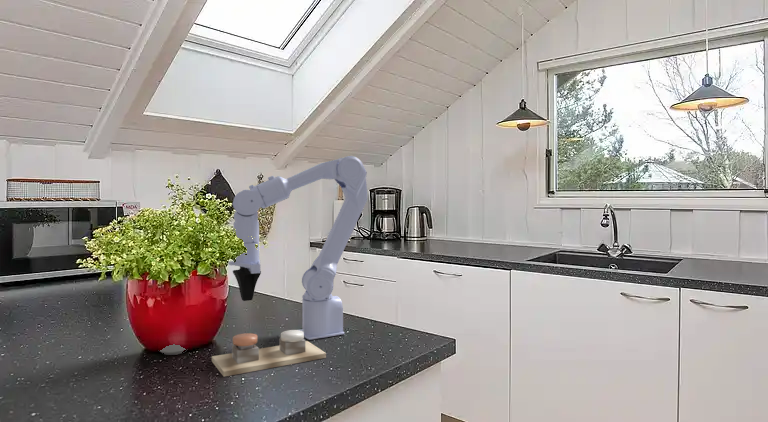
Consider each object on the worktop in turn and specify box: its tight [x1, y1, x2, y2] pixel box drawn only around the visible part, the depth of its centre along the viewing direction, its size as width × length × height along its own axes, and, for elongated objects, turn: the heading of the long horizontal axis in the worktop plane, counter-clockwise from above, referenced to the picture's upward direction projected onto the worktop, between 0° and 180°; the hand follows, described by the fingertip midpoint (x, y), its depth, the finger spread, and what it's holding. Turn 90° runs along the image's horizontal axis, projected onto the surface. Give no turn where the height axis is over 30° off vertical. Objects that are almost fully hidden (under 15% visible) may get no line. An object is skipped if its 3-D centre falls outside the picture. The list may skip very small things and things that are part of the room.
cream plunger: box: [280, 329, 305, 342], centre depth 107 cm, size 5×5×4 cm
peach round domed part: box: [232, 332, 258, 350], centre depth 102 cm, size 5×5×4 cm
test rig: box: [211, 337, 327, 377], centre depth 105 cm, size 21×10×4 cm, turn 121°
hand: (247, 300), depth 118 cm, fingers closed
